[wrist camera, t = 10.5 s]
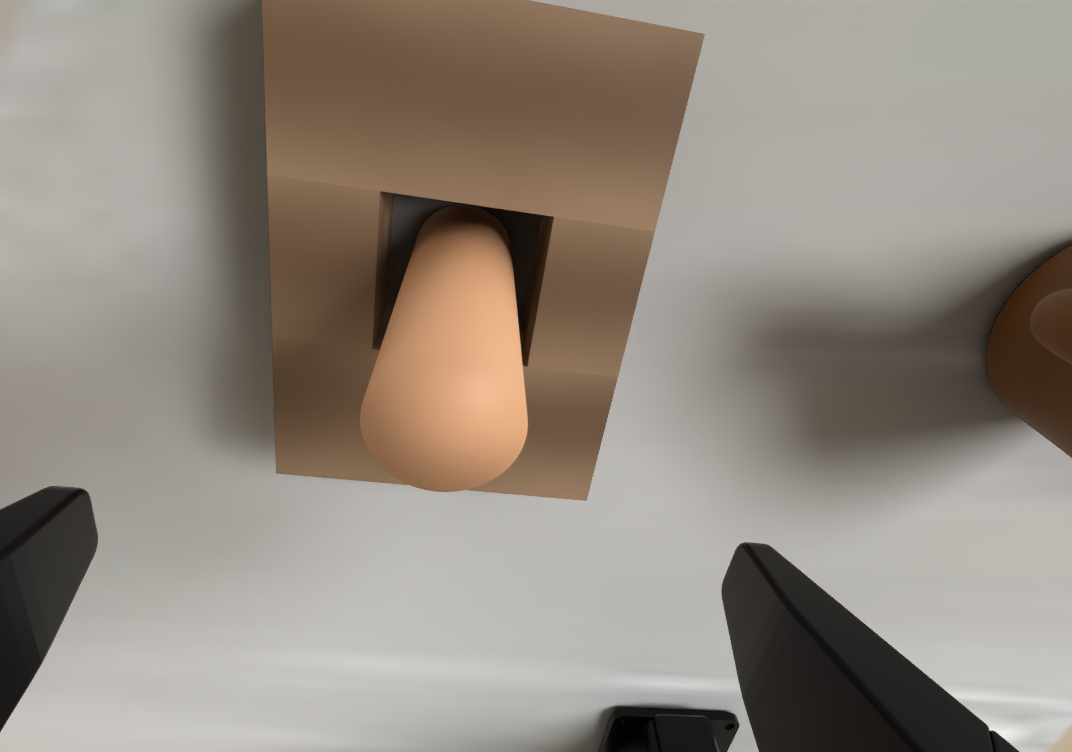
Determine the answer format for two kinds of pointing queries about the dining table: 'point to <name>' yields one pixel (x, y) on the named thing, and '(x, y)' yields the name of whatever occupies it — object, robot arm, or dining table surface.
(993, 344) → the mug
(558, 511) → the dining table surface
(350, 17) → the hole block
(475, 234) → the peg
